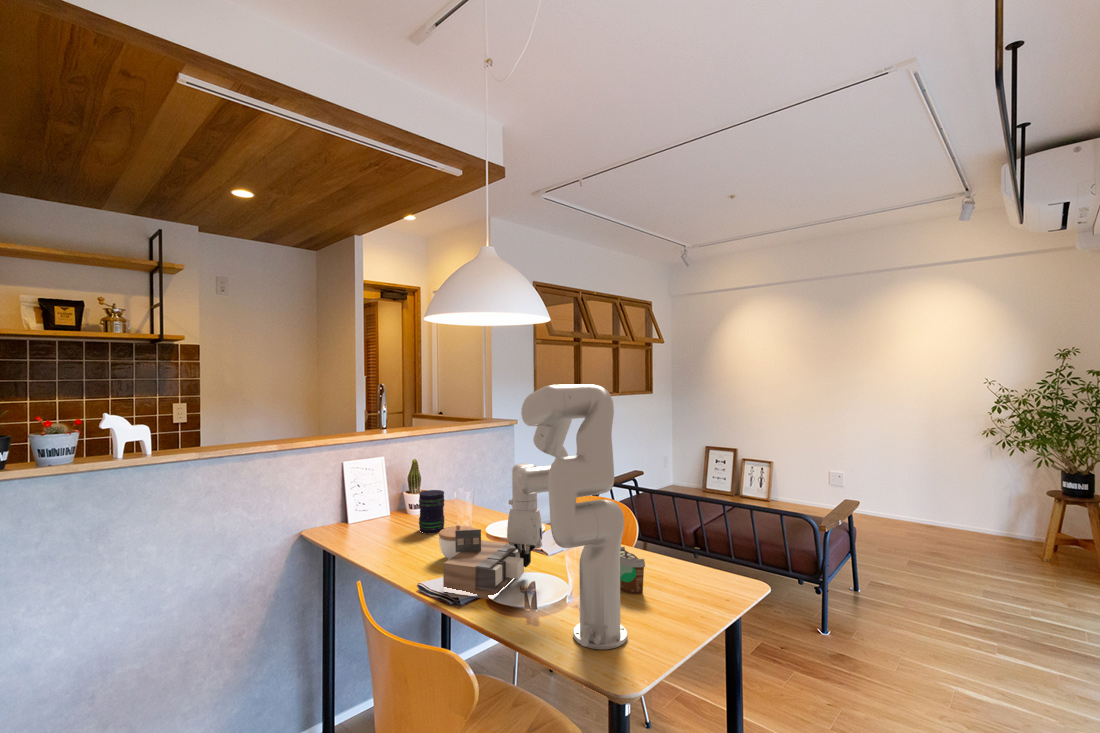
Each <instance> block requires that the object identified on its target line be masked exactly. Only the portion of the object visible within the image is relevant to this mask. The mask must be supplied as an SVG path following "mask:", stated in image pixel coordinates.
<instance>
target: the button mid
mask: <svg viewBox="0 0 1100 733" xmlns="http://www.w3.org/2000/svg"><path fill="white" fill-rule="evenodd" d="M503 561H506V577H508V578H515V580H517V579H519V578H520V577H522V575H523V574H524V572H523V558H517V557H506V558H505V559H504V560H503Z"/></svg>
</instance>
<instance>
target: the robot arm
mask: <svg viewBox="0 0 1100 733" xmlns="http://www.w3.org/2000/svg"><path fill="white" fill-rule="evenodd" d="M614 407H615V406H614V401H613V398H612V396H611V393H610V391H609V390H607V389H606V388H605V387H603V386H601V385H597V384H589V383H586V384H583V383H580V384H579V383H578V384H576V383H575V384H550V385H545V386H543V387H540V388H539V389H537V390H535V391H533V392H532V393H530V394H528V395H527V396H526V397H525V399H524V401H523V403H522V406H521V409H520V410H521V412H520V414H521V419H522V421H523V423H524V424H525V425H526V426H528V427H536V428H535V432H534V434H533V444H534V446H535V447H536V448H537V449H538V450H539V451H541V452H542V453H544V454H546V455H549V456H551V457H554V461H553V462H552V463H551V465H543V466H539V465H538V466H536V465H535V464H533V463H527V462H526V463H525V462H523V463H517V464H514V465H513V467H512V470H511V471H512V473H511V474H512V476H511V478H512V479H511V481H512V482H511V483H512V484H511V486H512V488H511V489H512V490H511V491H512V498H511V499H509V500H508V505H510V506H511V508H510V509H509V512H508V518H507V528H506V529H507V530H506V541H507V543H508V544H509V545H512V546H515V547H516V549H517V550H518V552H519V553H520V558H523V567H524V568H527V567H528V566H530V564H531V563H532V559H531V558H532V556H531V555H532V551H533V550H535V549H540V548H542V547H543V542H542V540H543V527H542V526H543V525H542V517H541V512H540V509H539V508H538V494H540V493H548V501H549V502H548V503H549V504H548V507H549V520H550V521H549V522H550V531H551V534H552V538H553V540H554V542H555V544H556V545H557V546H558V547H560V548H563V549H572V548H579V547H583V549H582V550H581V553H580V558H579V565H578V567H579V570H578V571H579V623H578V624H576V625H575V626H574V627H573V630H572V635H573V639H574V640H575V641H576V642H577V643H578V645H581V646H582V647H586V648H589V649H592V650H594V649H595V650H603V651H604V650H610V649H611V650H612V649H616V648H619V647H621V646H622V645H624V644H625V643H626V642H627V641H628V630H627V629H626V628H625V627H624V625H622V624H621V622H622V621H621V591H620V549H621V547H622V539H623V534H624V529H625V516H624V512H623V509H622V508H621V507H620V505H619V504H618V503H616V502H615V501H613V500H610V499H596V500H595V499H593V500H588V501H582V502H577V498H582V497H590V496H596V495H603V494H605V493H608V492H610V491H611V490H612V489H613V487H614V483H615V466H614V452H613V450H614V448H613V438H612V437H613V436H612V434H613V431H612V430H613V423H614V415H615V414H614V413H615V411H614V409H615V408H614ZM573 419H583V421H582V422H581V424H580V426H579V428H578V430H577V433H576V436H575V438H576V441H575V442H576V454H575V455H569V454H568V452H567V449H566V447H565V446H564V445H565V444H564V443H565V440H566V438H567V434H568V432H569V430H570V429H569V428H570V427H571V423H572V420H573Z"/></svg>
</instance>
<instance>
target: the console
mask: <svg viewBox="0 0 1100 733" xmlns="http://www.w3.org/2000/svg"><path fill="white" fill-rule="evenodd" d="M475 529H476V530H456V531H455V537H456V552H460V553H458V554H457V555H455V556H454V557H452V558H450V559H449V560H447V559H446V561H445V562H443V564H442V565H443V567H442V568H443V573H442V574H443V580H442V583H443V585H442V586H443V587H447V588H452V589H456V590H462V591H466V592H470V593H473V594H477V595H478V597H477V599H483V600H489V599H488V595H494V594H496V593H498V592H499V591H500V590H501V589H502V588H503V587H505V586H506V585H507V584H508V583H509V582H510V581H511V580H512V579H513V578H508V577H506V561H503V560H504V559H505V558H506V557H515V553H511V552H512V551H514V550H515V549H516V547H515V546H512V545H509V543H508V542H501V541H491V540H483V539H482V529H480V528H479V529H477V528H475ZM496 564H498V565H502V581H501V582H500V583H499V584H498V585H497V586H495V569H491V568H492V567H493V566H495V565H496ZM524 572H525V567H523V573H524Z"/></svg>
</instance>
